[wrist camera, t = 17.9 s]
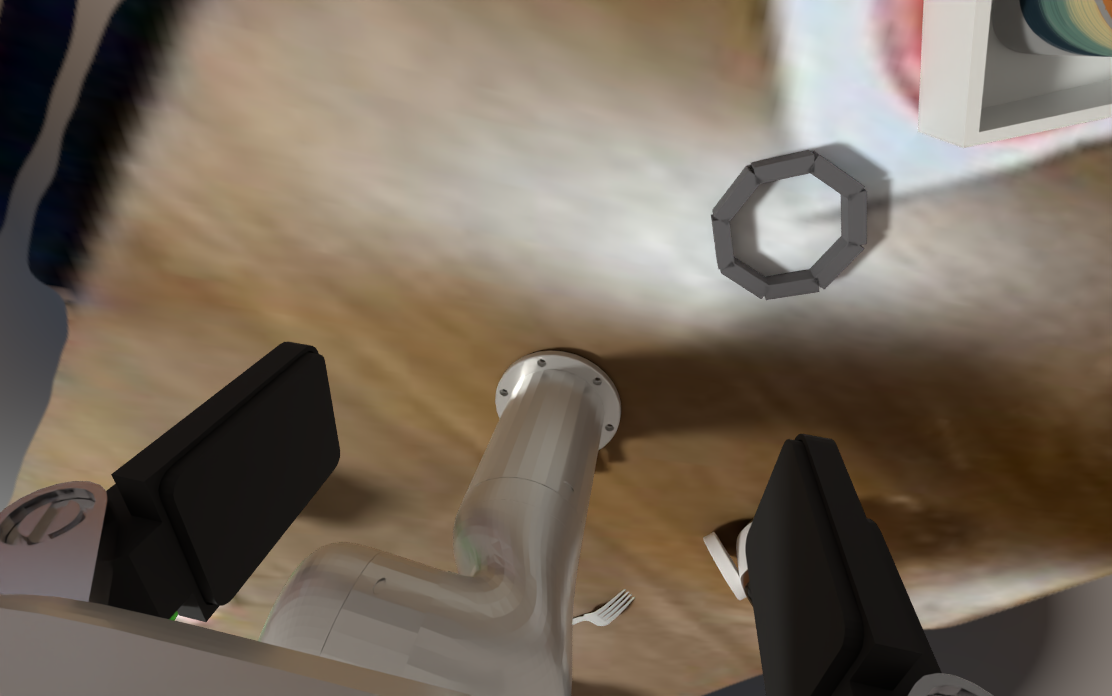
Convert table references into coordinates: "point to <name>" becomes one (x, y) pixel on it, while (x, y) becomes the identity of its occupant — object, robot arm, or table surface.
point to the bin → (999, 81)
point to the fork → (605, 612)
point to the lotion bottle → (1055, 26)
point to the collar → (829, 262)
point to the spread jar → (732, 563)
